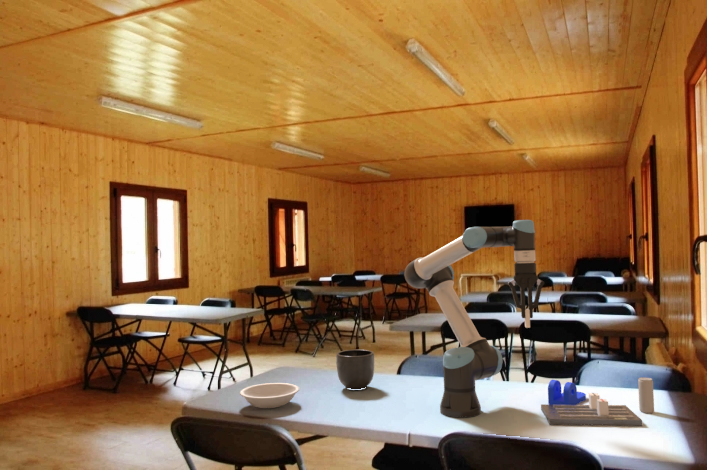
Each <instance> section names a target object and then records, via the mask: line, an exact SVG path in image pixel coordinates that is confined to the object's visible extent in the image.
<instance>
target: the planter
mask: <svg viewBox="0 0 707 470" xmlns="http://www.w3.org/2000/svg"><path fill="white" fill-rule="evenodd" d="M335 355H336V356H335V357H336V358H335V360H336V361H335V363H336V372H337V377H338V379H339V381H340V383H341V384H342V385H343V386H344V387H345V389H346V388H351V389H361V388H365V387H368V386H369V385H370V383H372V380H373V378H374V374H375V352H374V351H372V350H369V349H346V350H345V349H344V350H342V351H341V350H340V351H337V352H336V354H335Z"/></svg>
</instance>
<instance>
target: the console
mask: <svg viewBox="0 0 707 470" xmlns="http://www.w3.org/2000/svg"><path fill="white" fill-rule="evenodd" d="M540 410H541V412H542V414H543V416H545V419H546V420H547V422H548V424H549V425H551V426H595V427H596V426H602V427H603V426H608V427H611V426H612V427H614V426H615V427H643V420H642V419H641V418H640V416H638V415H637V414H636V413H634V411H633V410H631V409H630V408H629V407H628V406H627V405H625V404H624V405H623V404H620V405H619V404H617V405H616V404H614V405H613V404H608V411H609V415H598V414H597V409H591V408H590V407H589V404H577V405H549V404H540Z"/></svg>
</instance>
